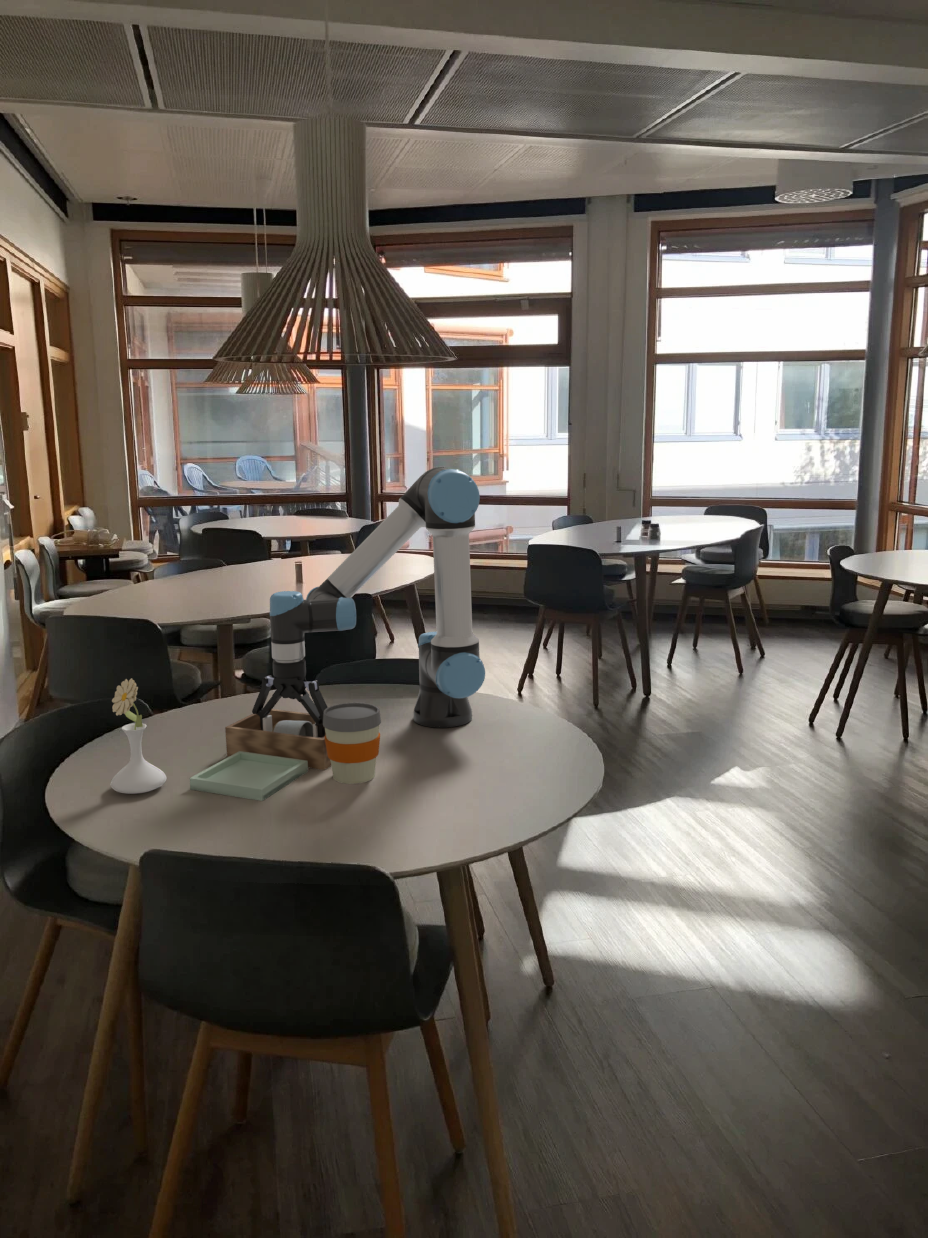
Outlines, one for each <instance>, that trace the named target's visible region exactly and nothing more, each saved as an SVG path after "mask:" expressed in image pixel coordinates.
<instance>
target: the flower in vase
mask: <svg viewBox="0 0 928 1238" xmlns="http://www.w3.org/2000/svg"><path fill="white" fill-rule="evenodd" d="M138 689H139V686H137V683H136V682H135V680H134V679H133V678H130V679H129V680H128V679H127V678H125V679H124V680H123V681H121V682H120V685H117V686H116V691H114V697H113V698H112V699H111V702H112V703H113V705H112V712H113V713H115V715H116V716H121V715H122V714H124V715H125V717H126V718H127V719H129V720H131V721H132V722H135V723H129V724H125V725H123V726H121V730H122V731H123V733H125V735H126V736H127V739H128V742H129V749H130V759H129V761H128V763H127V764H126V765H125V766H123V767H122V768H121V769H120V770H119V771H118V772H117V773H116V774H115V775H114V776H113V777H112V779H111V780H110V781H111V782H110V787H111V789H113V790H114V792H115V791H116V792H117V793H122V794H127V795H128V794H129V795H130V794H131V795H132V794H135V795H136V794H144V793H148V792H152V791H153V790H156V789H159V788H161V787H162V786H163V785H164V784H165V783H166V781H167V779H168V778H167V775H166V773H165V772H164V771H163V770H161V769H160V768H159V767H157V766H155V765H153V764H152V763H150V762H149V761H147V760H146V759H145V758H144V756H143V751H142V739H143V735H144V734H143V733H144V731H145V730H146V728H147V724H146V723H143V719H142V718H143V715H142V714H140V715H139V711H138V709H137V706H136V705H135V703H134V702H135V701H137V696H138ZM131 707H133V709H135V712H136V714H135V713H133V712H132V711H130V709H131Z"/></svg>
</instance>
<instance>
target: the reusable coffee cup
mask: <svg viewBox="0 0 928 1238" xmlns="http://www.w3.org/2000/svg"><path fill="white" fill-rule="evenodd" d="M327 707H328V708H326V709H325V710H324V714H323V726H324V727H325V732H326V735H325V743H326V749H327V755H328V758H329V759H330V761H331V766H330V767H331V771H332V776H333V777H332V778H333V780H334V781H335V782H338V783H340V784H346V785H357V784H365V783H367V782H370V781H372V780H373V779H374V777H375V773H376V763H377V757H378V756H379V751H380V743H381V742H380V741H381V733H380V725H381V724H382V719H381V718H382V717H381V711H380V708H379V707H378V706H377V705H376V704H375V705H374V704H372V703H368V702H344V703H338V704H333V705H331V706H327Z"/></svg>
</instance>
